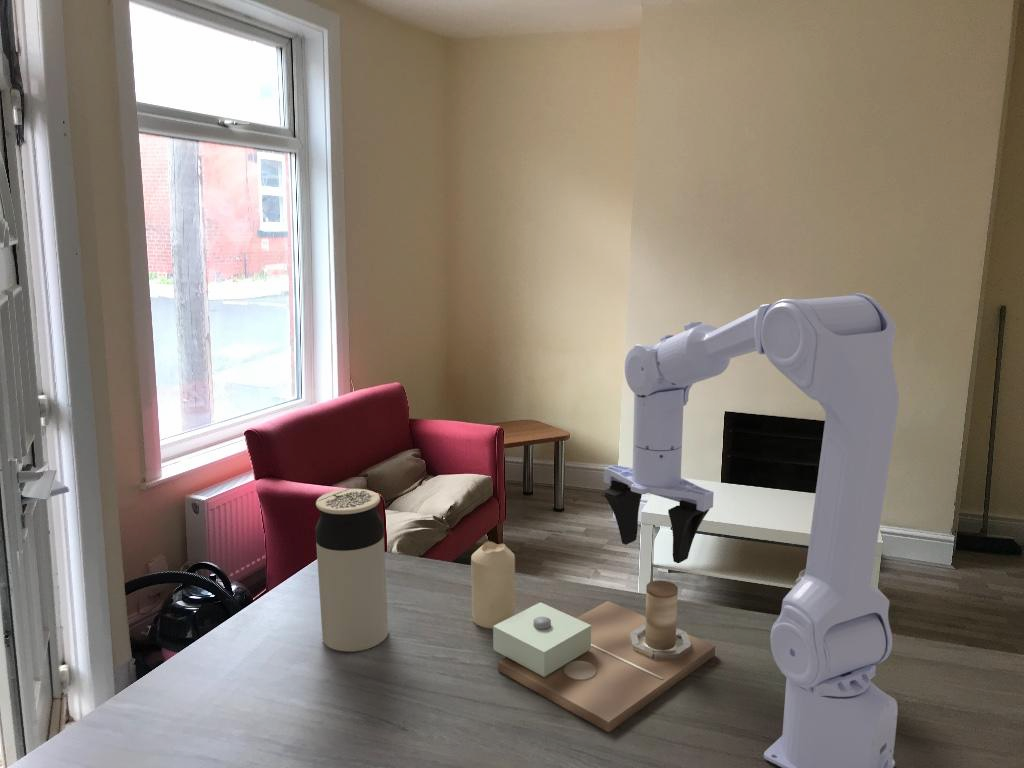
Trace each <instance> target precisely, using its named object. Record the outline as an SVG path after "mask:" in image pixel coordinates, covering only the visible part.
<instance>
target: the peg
mask: <svg viewBox="0 0 1024 768" xmlns="http://www.w3.org/2000/svg"><path fill="white" fill-rule="evenodd" d="M678 589H679V587H678V586H677V585H676V584H675V583H673V582H672V581H667V580H660V579H659V580H658V579H657V580H652V581H650V582H648V583H647V584H646V589H645V590H646V591H645V643H646V645H647V646H649V647H650V648H653V649H656V650H669V649H672V648H673V647H675V645H676V628H677V626H678V625H677V622H678V595H679V594H678V592H679V590H678Z"/></svg>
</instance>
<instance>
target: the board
mask: <svg viewBox="0 0 1024 768" xmlns="http://www.w3.org/2000/svg"><path fill="white" fill-rule="evenodd" d="M645 617H646V615H643V614H640V613H637V612H636V611H632V610H631V609H629V608H627V607H625V606H621V605H619V604H616V603H614V602H612V601H609V600H606V601H605V602H603V603H601V604H599V605H597V606H595V607H594V608H592V609H590V610H588V611H586V612H585V613H583V614H581V615H579V616H578V617H575V618H576V619H579V620H581V621H583V622H585V623H587V624H590V625H591V649H590V650H588V651H587V652H585V653H583V654H582V655H580V656H578V657H577V658H575V659H573V660H572V661H570V662H568V663H567V664H565V665H563V666H562V667H560V668H558V669H557V670H555V671H553V672H552V673H550V674H548V675H547V676H545V677H543V676H541V675H540V674H538V673H536V672H534V671H532V670H530V669H528V668H527V667H525V666H523V665H521V664H519V663H517V662H515V661H514V660H512V659H510V658H508V657H506V656H504V657H503V658H501V659H499V660H498V661H497V671H498V672H500V673H501V674H503V675H505V676H507V677H509V678H510V679H512V680H514V681H516V682H517V683H520V684H521V685H523V686H524V687H526V688H528V689H530V690H532V691H534V692H535V693H537V694H538V695H541V696H542V697H544V698H546V699H548V700H549V701H551V702H554V703H555V704H557V705H559V706H560V707H562V708H564V709H565V710H567V711H569V712H571V713H572V714H575V715H577V716H578V717H580V718H582V719H583V720H586V721H587V722H589V723H590V724H592V725H594V726H596V727H598V728H599V729H601V730H603V731H605V732H606V733H610V732H612V731H613V730H615V728H617V727H618V726H620V725H621V724H623V723H624V722H626V721H627V720H628V719H629V718H631V717H632V716H634V715H635V714H637V712H639V711H641V710H642V709H643V708H645V707H646V706H647V705H649V704H650V703H651V702H653V701H654V700H655V699H657V698H659V697H660V696H661V695H662V694H664V693H665V692H666V691H668V690H670V689H671V688H672V687H673V686H675V685H677V684H678V683H679V682H680V681H682V680H683V679H684V678H686V677H687V676H688V675H690V674H692V673H693V672H694V671H696V670H697V669H698V668H700V667H701V666H703V664H705V663H707V662H708V661H709V660H711V659H712V658H713V657H715V656H716V645H713V644H711V643H709V642H707V641H704V640H702V639H699V638H697V637H695V636H693V635H690V634H688V633H687V635H688V637H689V640H690V642H691V650H690V651H689V652H687V653H686V654H684V655H683V656H681V657H680V658H677V659H654V658H653V659H651V658H649V657H647V656H645V655H643V654H641V653H638V652H636V651H634V649H633V648H632V644H631V641H630V632H632V631H634V630H635V629H637V628H638V627H640V626H642V625H645Z"/></svg>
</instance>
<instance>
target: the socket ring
mask: <svg viewBox="0 0 1024 768" xmlns="http://www.w3.org/2000/svg"><path fill="white" fill-rule="evenodd" d="M687 634H688V633H687V632H686V631H684V630H682V629H680V628H677V627H676V645H675V647H673V648H672V649H669V650H656V649H653V648H650V647H649V646H647V645H646V643H645V625H642V626H640V627H638V628H637V629H635V630H634V631H632V632H630V641H631V644H632V648H633V649H634V651H636V652H638V653H641V654H643V655H645V656H647V657H649V658H651V659H653V658H654V659H677V658H680V657H681V656H683V655H684V654H686V653H687V652H689V651H690V650H691V642H690V640H689V637H688V635H689V634H688V635H687Z"/></svg>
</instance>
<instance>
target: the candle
mask: <svg viewBox="0 0 1024 768" xmlns="http://www.w3.org/2000/svg"><path fill="white" fill-rule="evenodd" d="M515 555H516V554H514V552H513V551H511V549H509V548H508V546H506V544H505V543H499V544H497V543H495V542H494V541H486V542H484V543H483V544H482V545H481V546H480V547H479V548H477V550H475V551H474V552H473V553H472V554H471V559H470V567H471V569H470V570H471V572H470V573H471V607H472V608H471V611H472V613H471V614H472V620H473V623H476V624H475V625H477V626H478V625H479V627H481V628H485V629H491V630H493V626H494V625H496V624H498V623H500V622H502V621H504V620H506V619H508V618H510V617H512V616H514V615H516V556H515Z"/></svg>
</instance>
